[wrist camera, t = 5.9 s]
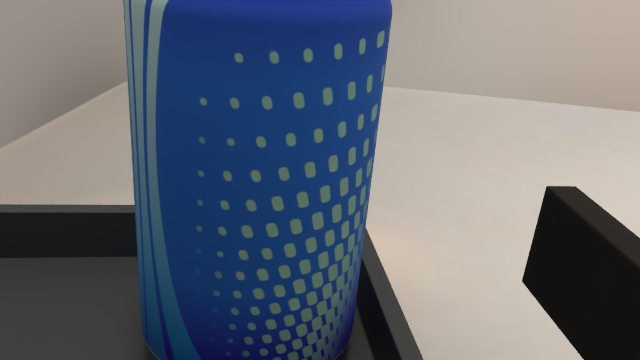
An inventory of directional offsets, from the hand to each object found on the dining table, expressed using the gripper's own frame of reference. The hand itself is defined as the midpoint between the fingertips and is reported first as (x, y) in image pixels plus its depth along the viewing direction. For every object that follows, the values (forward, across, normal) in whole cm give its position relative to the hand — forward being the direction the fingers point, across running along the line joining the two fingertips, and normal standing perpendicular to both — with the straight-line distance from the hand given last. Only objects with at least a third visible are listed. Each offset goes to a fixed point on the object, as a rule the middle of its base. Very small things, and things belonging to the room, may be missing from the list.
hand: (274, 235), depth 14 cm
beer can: (+8, 0, -10) cm, 12 cm away
